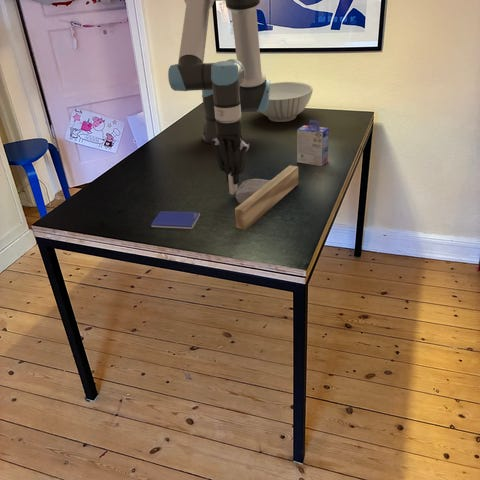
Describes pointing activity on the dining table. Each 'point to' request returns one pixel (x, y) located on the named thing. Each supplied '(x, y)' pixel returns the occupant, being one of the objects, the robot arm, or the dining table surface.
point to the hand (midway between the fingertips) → (233, 192)
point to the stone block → (249, 188)
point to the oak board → (266, 197)
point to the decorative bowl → (287, 100)
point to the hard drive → (176, 219)
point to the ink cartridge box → (312, 144)
